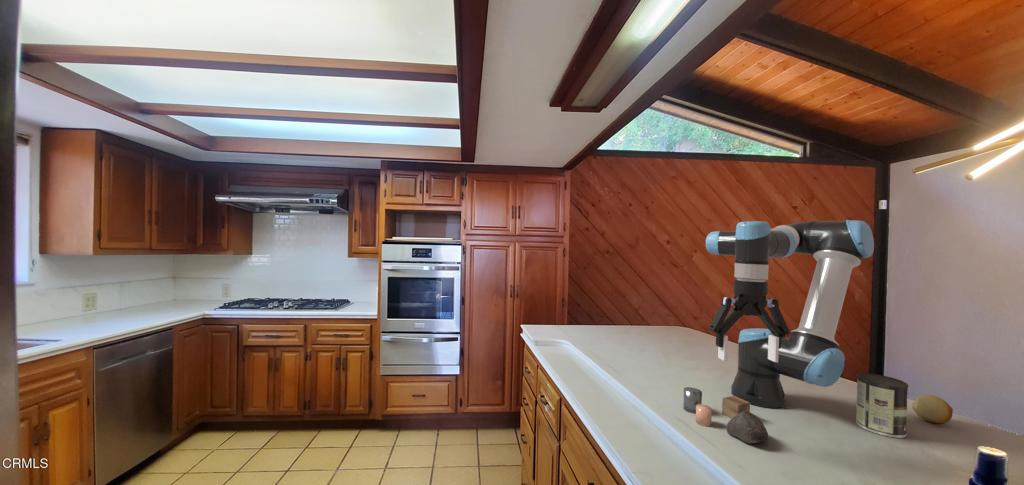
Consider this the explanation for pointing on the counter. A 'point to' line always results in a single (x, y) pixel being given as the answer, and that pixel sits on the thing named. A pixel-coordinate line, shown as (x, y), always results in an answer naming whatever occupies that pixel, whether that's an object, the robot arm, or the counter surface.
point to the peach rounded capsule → (703, 415)
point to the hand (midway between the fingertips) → (747, 360)
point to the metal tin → (692, 399)
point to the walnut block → (734, 406)
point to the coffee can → (882, 405)
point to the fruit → (932, 409)
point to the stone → (747, 428)
